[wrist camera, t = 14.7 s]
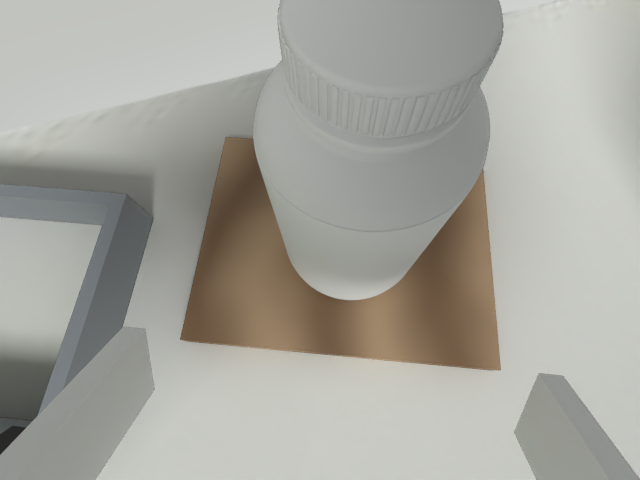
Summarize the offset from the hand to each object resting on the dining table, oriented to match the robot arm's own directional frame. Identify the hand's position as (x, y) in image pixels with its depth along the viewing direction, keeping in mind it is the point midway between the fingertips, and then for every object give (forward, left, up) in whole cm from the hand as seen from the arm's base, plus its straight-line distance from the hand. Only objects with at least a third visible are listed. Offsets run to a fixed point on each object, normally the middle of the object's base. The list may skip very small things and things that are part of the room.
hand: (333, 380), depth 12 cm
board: (0, -8, -9) cm, 12 cm away
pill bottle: (-1, -8, -8) cm, 11 cm away
